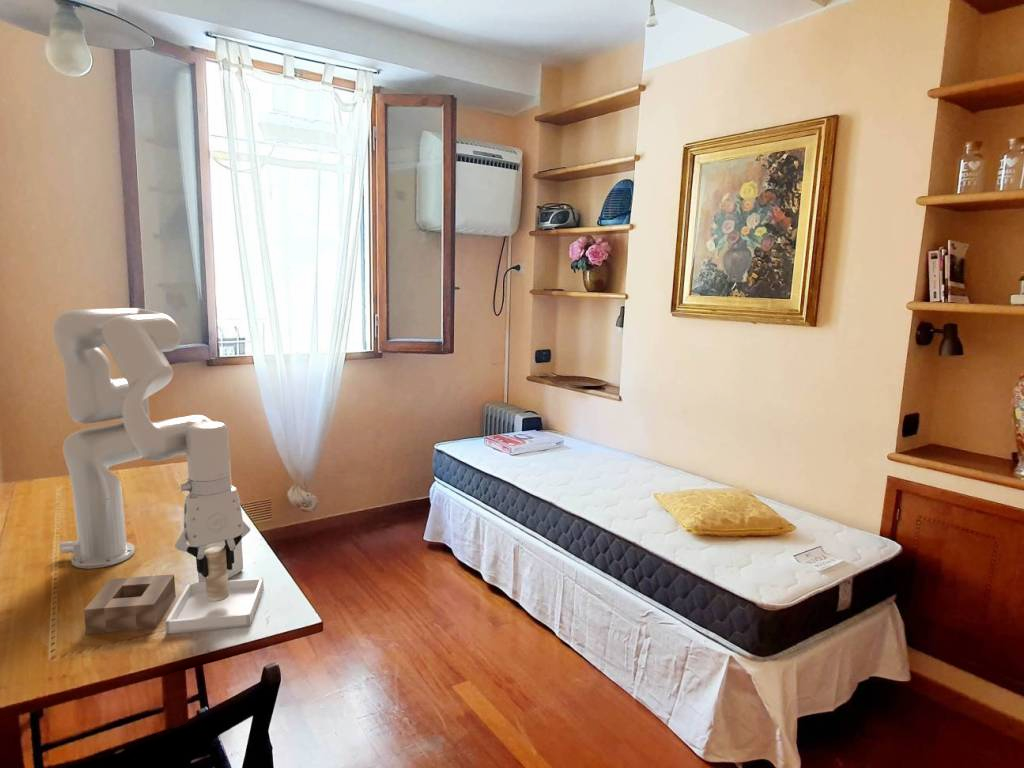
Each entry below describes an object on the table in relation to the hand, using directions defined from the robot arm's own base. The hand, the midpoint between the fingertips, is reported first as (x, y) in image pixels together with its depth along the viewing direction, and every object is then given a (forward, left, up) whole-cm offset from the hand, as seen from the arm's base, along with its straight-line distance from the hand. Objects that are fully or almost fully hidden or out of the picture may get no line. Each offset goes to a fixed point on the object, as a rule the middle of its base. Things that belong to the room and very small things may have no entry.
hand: (216, 570), depth 124 cm
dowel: (0, 0, -6) cm, 6 cm away
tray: (0, 0, -9) cm, 9 cm away
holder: (-16, +1, -9) cm, 18 cm away
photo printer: (-3, +14, -9) cm, 17 cm away
